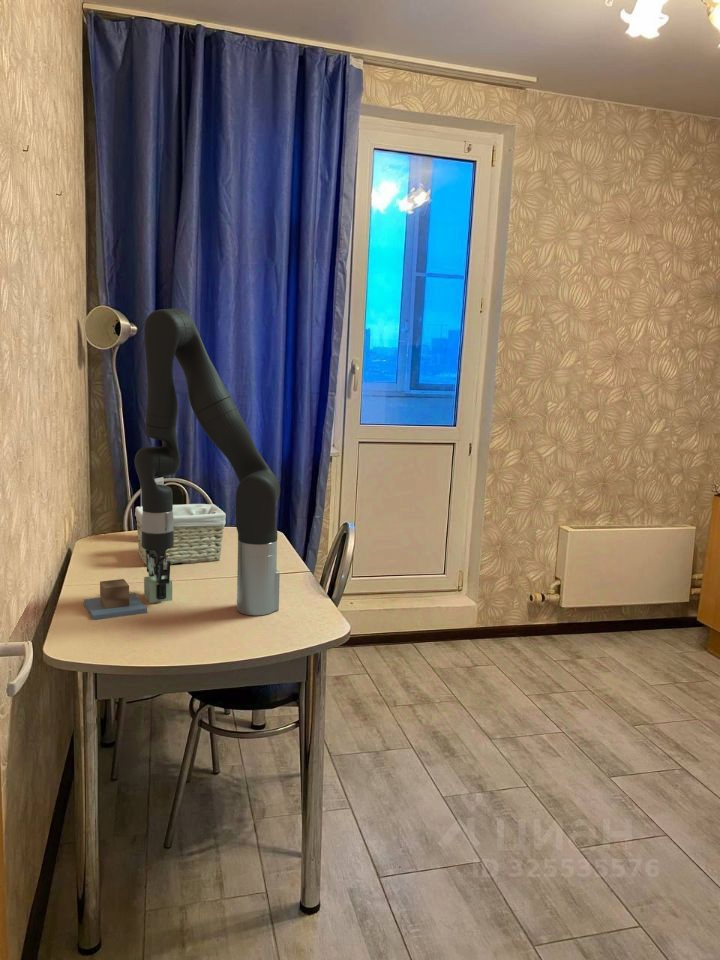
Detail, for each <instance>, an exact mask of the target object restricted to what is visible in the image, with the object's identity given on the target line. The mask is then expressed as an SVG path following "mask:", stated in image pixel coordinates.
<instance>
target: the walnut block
mask: <svg viewBox="0 0 720 960" xmlns="http://www.w3.org/2000/svg"><path fill="white" fill-rule="evenodd" d="M129 594H130V584H129V583H128V582H127V581H126V580H125V579H124V578H119V579H111V580H102V581H99V597H100V602H101V604H102V605H103V607H104V608H105V609H110V608H118V607H125V606H129Z"/></svg>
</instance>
